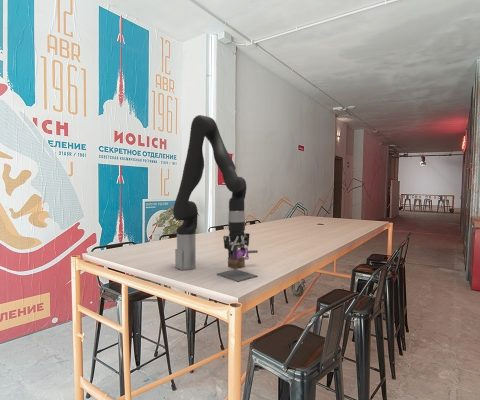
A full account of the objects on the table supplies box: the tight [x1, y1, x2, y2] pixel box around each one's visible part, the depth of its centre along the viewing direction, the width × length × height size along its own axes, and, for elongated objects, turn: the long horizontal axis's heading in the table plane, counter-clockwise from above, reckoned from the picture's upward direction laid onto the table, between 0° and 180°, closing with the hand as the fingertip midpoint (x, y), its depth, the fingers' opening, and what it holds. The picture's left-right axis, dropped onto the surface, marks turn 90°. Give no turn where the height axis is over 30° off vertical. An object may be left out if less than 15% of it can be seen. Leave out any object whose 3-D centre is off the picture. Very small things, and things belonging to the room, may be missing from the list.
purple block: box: [229, 245, 250, 261], centre depth 147 cm, size 7×5×9 cm
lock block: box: [227, 256, 246, 270], centre depth 163 cm, size 6×6×5 cm
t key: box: [236, 243, 259, 254], centre depth 164 cm, size 8×12×8 cm, turn 103°
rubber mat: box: [216, 268, 258, 283], centre depth 147 cm, size 12×15×1 cm
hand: (236, 257), depth 147 cm, fingers closed on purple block, 6 cm apart
